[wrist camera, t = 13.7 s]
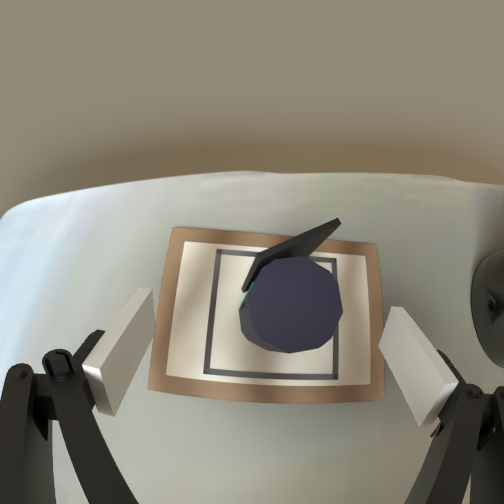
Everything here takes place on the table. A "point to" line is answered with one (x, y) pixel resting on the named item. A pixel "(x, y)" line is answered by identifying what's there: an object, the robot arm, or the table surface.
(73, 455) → the robot arm
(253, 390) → the picture frame
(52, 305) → the table surface
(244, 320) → the speaker
